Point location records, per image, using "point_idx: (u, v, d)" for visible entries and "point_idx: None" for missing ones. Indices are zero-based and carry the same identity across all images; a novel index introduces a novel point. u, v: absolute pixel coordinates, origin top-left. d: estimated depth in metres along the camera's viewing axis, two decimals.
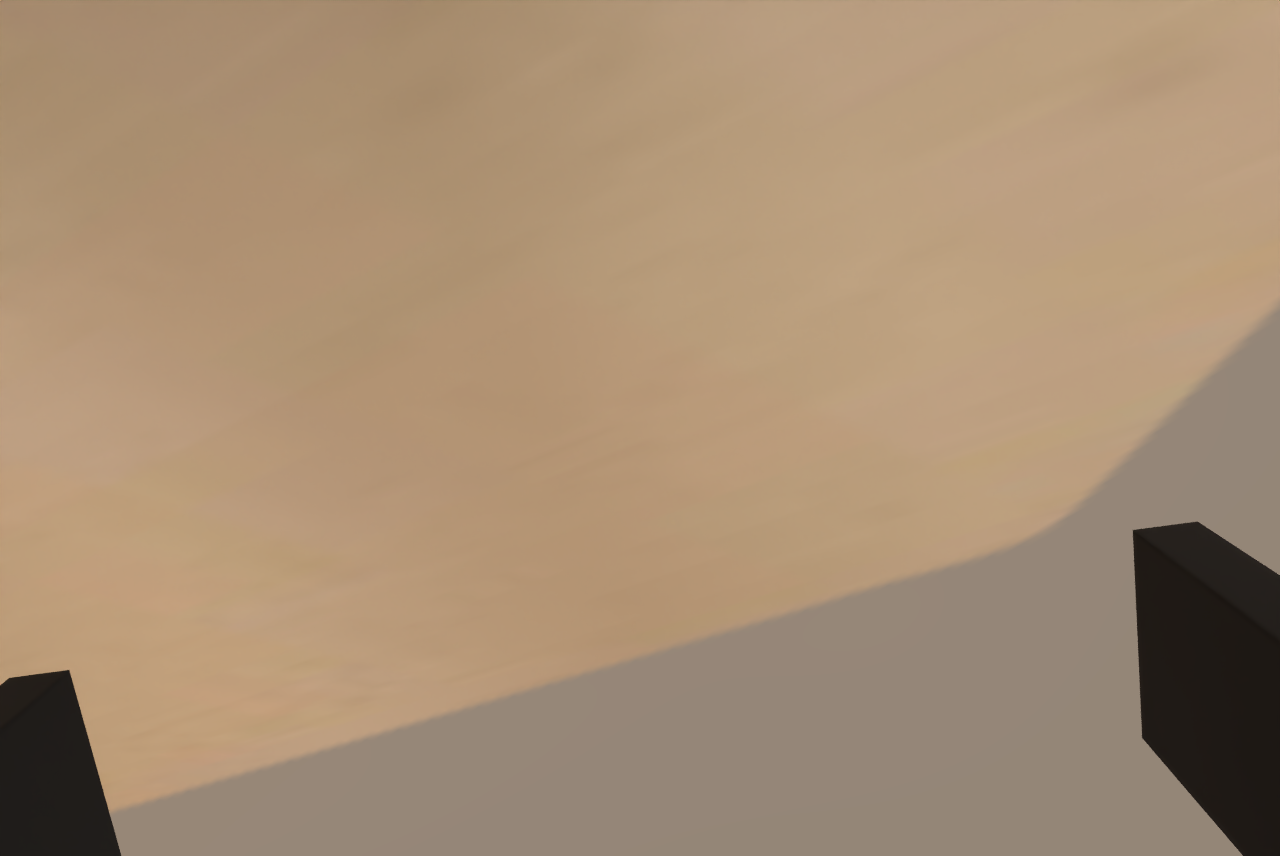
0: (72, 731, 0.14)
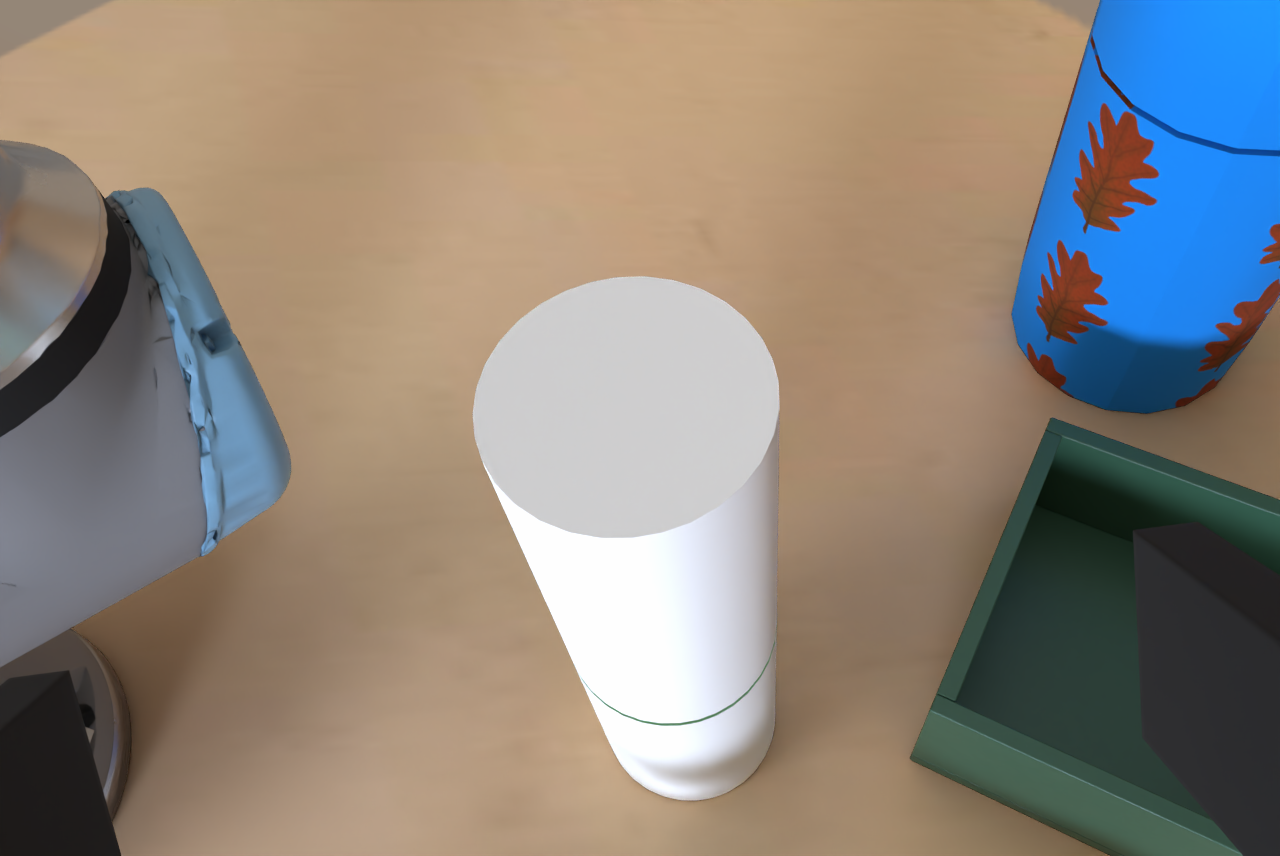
0: (72, 731, 0.14)
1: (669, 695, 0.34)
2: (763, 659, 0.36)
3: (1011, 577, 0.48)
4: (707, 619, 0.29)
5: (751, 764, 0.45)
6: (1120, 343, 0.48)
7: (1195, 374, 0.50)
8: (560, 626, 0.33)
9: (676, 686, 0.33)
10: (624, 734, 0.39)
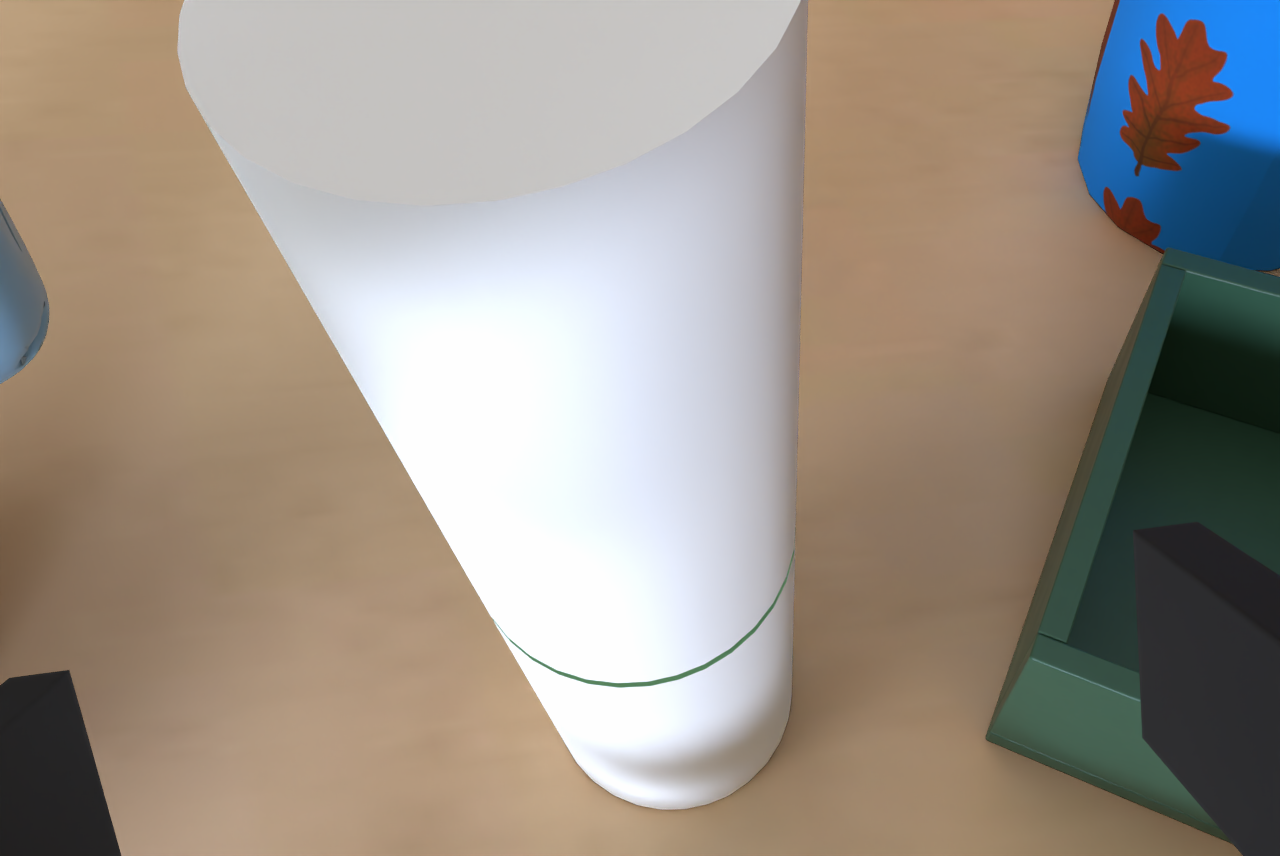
0: (72, 731, 0.14)
1: (626, 628, 0.20)
2: (778, 574, 0.23)
3: None
4: (679, 461, 0.16)
5: (761, 753, 0.31)
6: (1245, 158, 0.35)
7: None
8: (433, 511, 0.19)
9: (634, 609, 0.20)
10: (567, 709, 0.26)
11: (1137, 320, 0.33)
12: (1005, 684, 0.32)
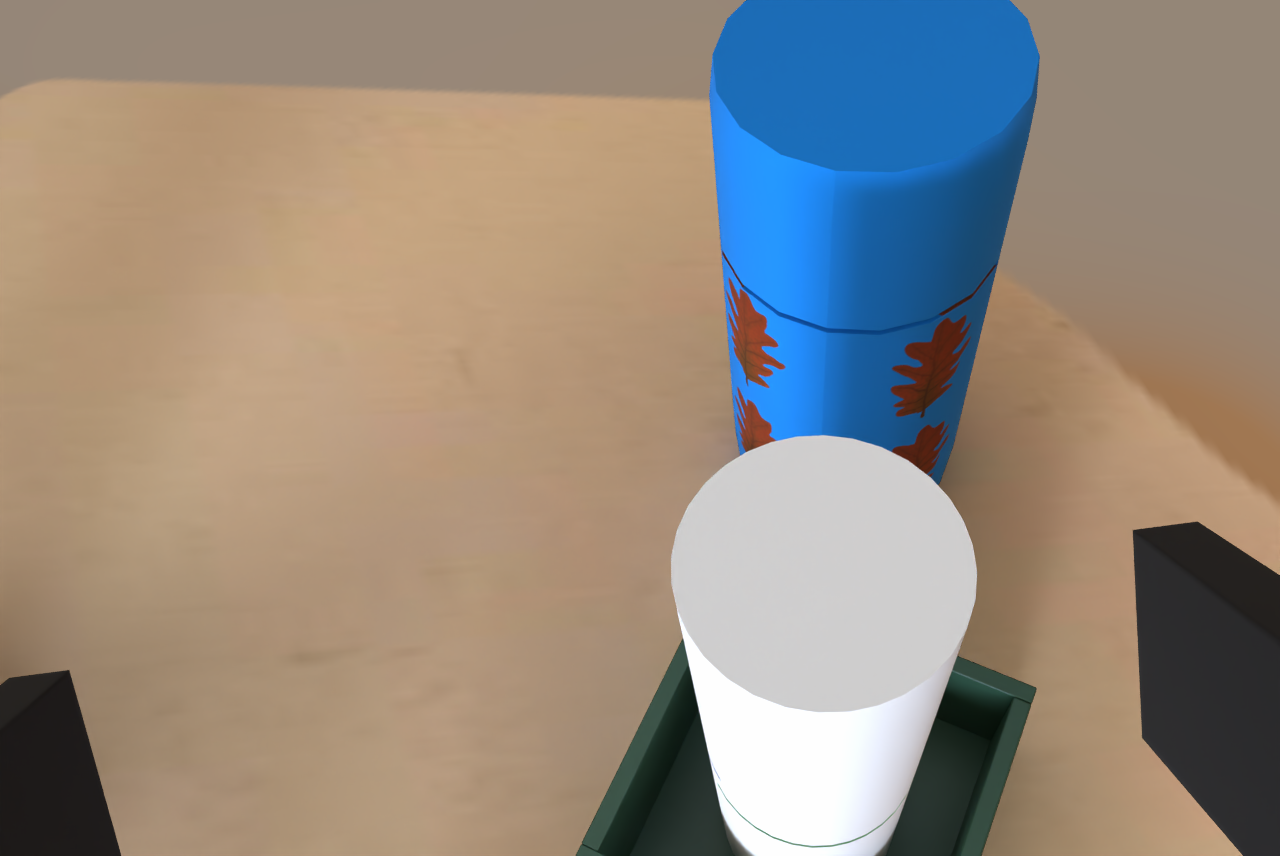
0: (72, 731, 0.14)
1: (830, 825, 0.34)
2: (912, 779, 0.36)
3: None
4: (888, 764, 0.30)
5: None
6: None
7: None
8: (725, 763, 0.33)
9: (840, 818, 0.33)
10: (765, 850, 0.40)
11: None
12: None
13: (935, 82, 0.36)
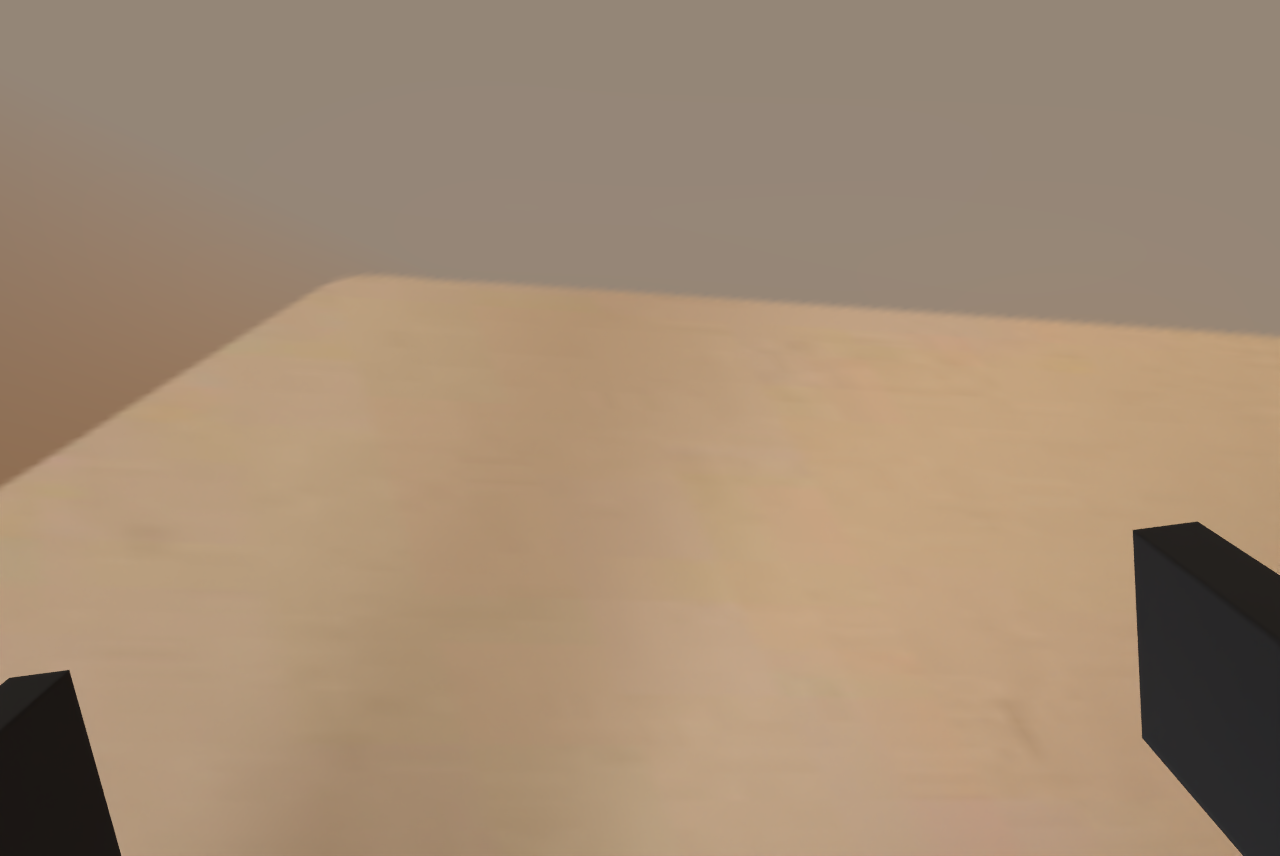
0: (71, 731, 0.14)
1: None
2: None
3: None
4: None
5: None
6: None
7: None
8: None
9: None
10: None
11: None
12: None
13: None
